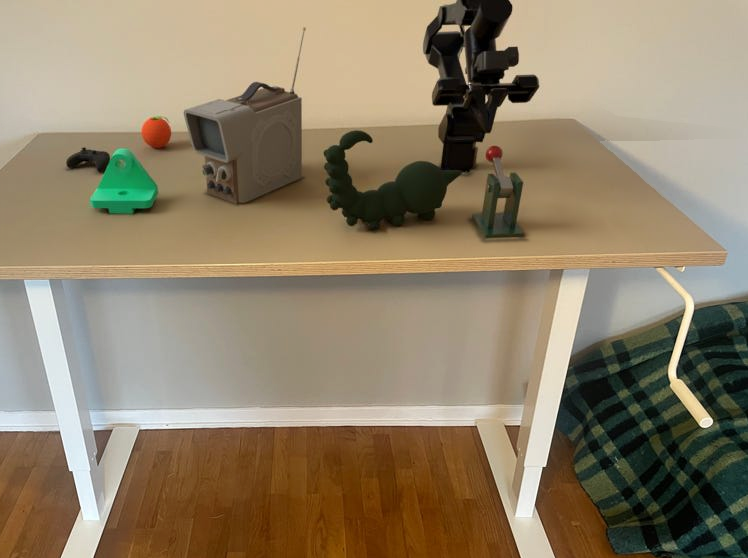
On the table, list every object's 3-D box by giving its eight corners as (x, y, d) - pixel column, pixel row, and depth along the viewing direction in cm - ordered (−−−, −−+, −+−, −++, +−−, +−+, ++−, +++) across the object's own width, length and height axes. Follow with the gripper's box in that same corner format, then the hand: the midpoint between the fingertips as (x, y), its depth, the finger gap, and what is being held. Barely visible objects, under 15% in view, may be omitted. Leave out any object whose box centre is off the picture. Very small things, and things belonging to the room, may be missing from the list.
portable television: (189, 197, 149) (174, 40, 131) (269, 164, 163) (265, 18, 145) (230, 213, 142) (220, 49, 125) (310, 177, 156) (311, 25, 139)
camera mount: (91, 213, 144) (81, 162, 138) (101, 197, 150) (92, 148, 144) (151, 213, 143) (144, 162, 137) (158, 197, 149) (152, 148, 143)
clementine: (160, 139, 179) (157, 109, 175) (181, 144, 175) (178, 114, 171) (137, 148, 173) (133, 118, 169) (158, 154, 170) (155, 123, 166)
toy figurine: (335, 246, 133) (469, 224, 134) (328, 145, 122) (474, 121, 123) (325, 224, 140) (452, 203, 142) (317, 127, 129) (455, 105, 131)
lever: (482, 155, 135) (486, 142, 133) (498, 154, 135) (502, 141, 133) (494, 199, 129) (499, 187, 127) (511, 199, 129) (516, 186, 127)
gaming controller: (63, 165, 163) (70, 140, 164) (75, 175, 168) (83, 151, 169) (100, 170, 160) (107, 144, 160) (112, 180, 165) (119, 156, 166)
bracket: (471, 219, 137) (478, 169, 131) (508, 218, 137) (517, 167, 131) (484, 241, 130) (492, 188, 124) (523, 239, 130) (533, 186, 124)
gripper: (442, 31, 131) (449, 112, 128) (546, 27, 131) (555, 108, 128) (428, 66, 142) (434, 141, 139) (524, 63, 142) (532, 138, 139)
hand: (488, 132), depth 136 cm, fingers closed
